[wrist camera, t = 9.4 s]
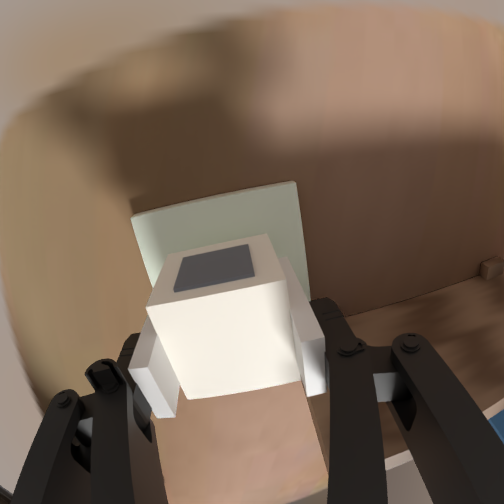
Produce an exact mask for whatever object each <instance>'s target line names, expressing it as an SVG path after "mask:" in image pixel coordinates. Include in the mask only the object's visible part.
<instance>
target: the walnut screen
mask: <svg viewBox="0 0 504 504" xmlns="http://www.w3.org/2000/svg"><path fill="white" fill-rule="evenodd" d="M344 318H345V320H346V321H347V323H348V325H349V326H350V328H351V330H352V331H353V333H354V335H355V336H356V338H360V339H362V340H363V341H364V342H366V344H367V345H369V346H378V347H379V346H392V342H393V340H394V339H395V338H396V337H397V336H399V335H401V334H404V333H417V334H419V335H422V336H423V337H425V338H426V339H427V340H428V341H429V343H430V344H431V345H432V346H433V347H434V349H435V350H436V351H437V352H438V354H439V355H440V356H441V358H442V359H443V360H444V361H445V363H446V364H447V365H448V366H449V368H450V369H451V370H452V372H453V373H454V374H455V376H456V377H457V378H458V380H459V381H460V382H461V384H462V385H463V386H464V388H465V389H466V390H467V392H468V393H469V394H470V396H471V397H472V398H473V400H474V401H475V403H476V404H477V405H478V407H479V408H480V410H481V411H482V412H483V414H484V415H485V417H486V418H487V420H488V419H490V418H491V417H493V416H494V415H496V414H497V413H499V412H500V411H502V410H503V409H504V260H503V259H501V258H500V257H495V258H492V259H490V260H487V261H484V262H481V268H480V275H479V276H476V277H474V278H471V279H468V280H465V281H463V282H460V283H457V284H454V285H451V286H448V287H445V288H442V289H440V290H437V291H433V292H430V293H427V294H424V295H421V296H418V297H415V298H412V299H408V300H405V301H402V302H399V303H395V304H392V305H388V306H385V307H381V308H378V309H374V310H371V311H367V312H363V313H360V314H356V315H352V316H348V317H344ZM300 377H301V375H300ZM301 381H302V378H301ZM302 384H303V382H302ZM303 388H304V385H303ZM304 391H305V389H304ZM305 395H306V392H305ZM306 398H307V402H308V405H309V408H310V412H311V415H312V419H313V422H314V426H315V429H316V433H317V436H318V440H319V443H320V447H321V450H322V454H323V457H324V461H325V464H326V468H327V472H328V475H329V449H330V391H329V388H328V386H327V392H326V393H322V394H318V395H314V396H310V397H307V395H306ZM378 408H379V415H380V422H381V430H382V439H383V448H384V457H385V469H386V470H389V469H391V468H393V467H396V466H399V465H401V464H404V463H406V462H408V461H411V460H413V457H412V455H411V453H410V451H409V449H408V447H407V445H406V442H405V440H404V438H403V436H402V434H401V432H400V430H399V428H398V426H397V424H396V422H395V420H394V418H393V416H392V414H391V412H390V410H389V408H388V406H387V404H386V402H378Z"/></svg>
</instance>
